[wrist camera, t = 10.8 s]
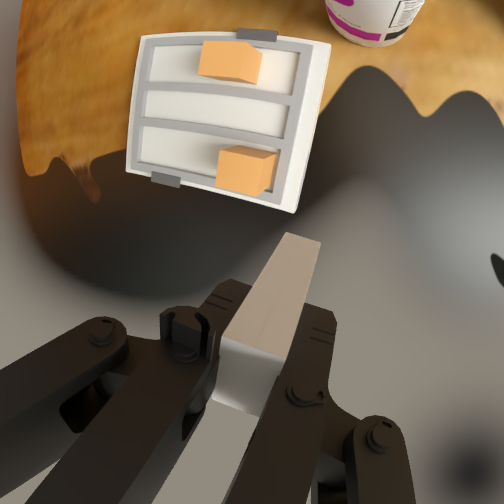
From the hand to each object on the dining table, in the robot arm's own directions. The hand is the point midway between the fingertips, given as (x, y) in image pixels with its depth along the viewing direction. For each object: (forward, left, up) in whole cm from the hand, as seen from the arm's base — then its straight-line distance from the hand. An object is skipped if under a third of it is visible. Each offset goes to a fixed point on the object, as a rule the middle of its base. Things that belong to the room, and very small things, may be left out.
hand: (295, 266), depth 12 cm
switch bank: (-13, +5, -19) cm, 24 cm away
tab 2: (-7, 0, -18) cm, 19 cm away
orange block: (-11, +10, -18) cm, 23 cm away
